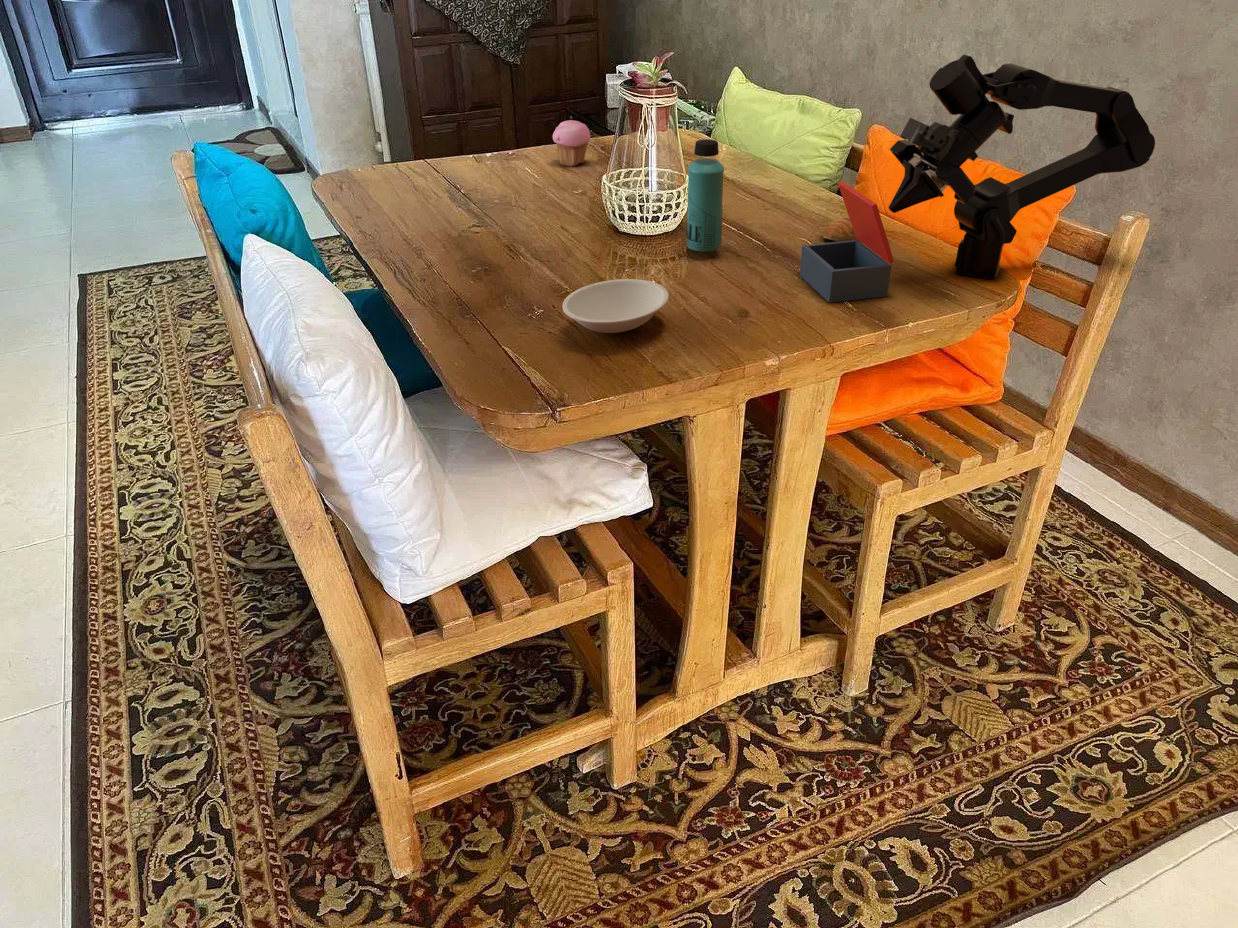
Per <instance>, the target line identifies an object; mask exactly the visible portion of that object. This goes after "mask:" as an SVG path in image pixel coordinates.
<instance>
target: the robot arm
mask: <svg viewBox="0 0 1238 928" xmlns="http://www.w3.org/2000/svg"><path fill="white" fill-rule="evenodd" d="M928 86H929V88H930V89H931V91H932V92H933V94H934V95H935V96H936V97H937V99H938V100H939V102H940V104H942V106H943V107H944V108H945V110H946V111H947V112H948V114H949V115H951V116H956V115H959V116H958V117H957V118H956V119H955V120H954V121H953V122H952V123H951V124H950V125H946V124H942V123H939V122H937V121H935V122H933V123H932V124H930V125H928V124H926V123H924V122H921V121H919V120H917V119H914V118H913V117H909V118H908V120H907V122H906V123H905V125H904V128H903V129H902V131H901V133H900V135H899V138H901V139H898V140H897V141H896V142H895V143H894V144H893V145H892V146H891V147H890V148H889V151H890V152H891V153H892V155H893V156H894V157H895V158H896V160H897V161H898V162H899V164H900V165H902V167H903V168H904V176H903V178H902V181H901V183H900V185H899V187H898V189H897V190H896V192H895V194H894V196H893V198H892V200H891V202H890V204H889V206H888V210H889V211H890V212H891V213H893V214H895V213H898V212H901V211H903V210H906V209H908V208H911V207H913V206H916V205H918V204H921V203H923V202H926V201H930V200H933V199H937V198H943V197H944V196H945V194H944V193H943V191H944V190H946V188H948V187H950V188H951V190H952V191H953V192H954V196H953V198H954V199H955V200H956V202H955V204H954V208H953V214H954V218H955V219H956V220H957V221H958V228H959V230H960V231H963V232H965V234H964V235H963V239H961V240H960V241H959V243H958V246H957V251H956V256H955V261H954V262H955V263H954V267H955V268H956V269H955V271H954V273H955V274H957V275H962V276H968V277H974V278H981V279H988V280H996V278H997V275H998V273H999V272H1000V269H1001V264H1000V263H1001V259H1002V254H1003V249H1004V247H1005V246H1004V245H1005V244H1011V243H1012V242H1013V240H1014V238H1015V236H1016V235H1017V233H1018V231H1017V229H1016V227H1014V225H1013V224H1012V223H1011V222H1012V220H1013V219H1014V218H1015V216H1016V215H1017V214H1018V213H1019V211H1021V209H1024V208H1026V207H1029V206H1030V205H1033V204H1035V203H1037V202H1039V201H1041V200H1044V199H1046V198H1048V197H1051V196H1052V195H1055V194H1057V193H1059V192H1061V191H1064V190H1066V189H1068V188H1071V187H1074V186H1075V185H1077V184H1079V183H1081V182H1084V181H1087V180H1088V179H1090V178H1093V177H1095V176H1097V175H1101V174H1112V173H1123V172H1127V171H1130V170H1134V169H1138V168H1141V167H1143V166H1144V165H1145V164H1147V163H1148V162H1149V161H1150V159H1151V156H1152V155H1153V153H1154V150H1155V147H1156V140H1155V136H1154V135H1153V133H1151V131H1150V128H1149V125H1148V123H1147V122H1146V121H1145V119H1144V117H1143V115H1142V114H1141V113H1140V111H1139V110H1138V109H1137V107H1136V104H1135V101H1134V98H1133V96H1132V94H1131V93H1130V92H1128V91H1126V90H1123V89H1119V88H1116V87H1113V86H1107V87H1102V86H1099V85H1097V86H1096V85H1091V84H1085V83H1079V82H1074V81H1073V82H1072V81H1067V80H1061V79H1056V78H1054V77H1051V76H1050V75H1047V74H1045V73H1043V72H1040V71H1037V70H1035V69H1031V68H1029V67H1025V66H1022V65H1019V64H1015V63H1004V64H1001V65H1000V67H998V68H997V69H996V70H995V71H991V72H986V73H982V72H981V71H980V69H979V67H978V66H977V64H976V62H975V60H974V58H973V56H971V55H968V54H962V55H961V56H960V57H959V58H958V59H956V60H955V59H954V60H953V61H951V62H949V63H947V64H946V65H945V64H944V66H942V67H940V68H938V69H937V70H936V72H935V73H934V74H933V75H932V77H931V79H930V80H929V85H928ZM986 95H988V96H990V99H991V101H990V100H989V98H988V96H986ZM1000 104H1002V105H1005V106H1008V107H1009V108H1013V109H1016V110H1020V111H1022V110H1023V111H1024V110H1039V109H1041V108H1044V107H1054V108H1063V109H1068V110H1074V111H1075V110H1076V111H1080V112H1081V111H1082V112H1086V113H1087V112H1088V113H1093V114H1095V116H1096V117H1095V122H1094V123H1095V124H1094V129H1095V132H1096V134H1095V135H1094V136H1093V137H1092V138H1091V140H1090V141H1089V143H1088V144H1087V145H1086V147H1084V148H1082V149H1080V150H1078V151H1076V152H1073V153H1071V154H1069V155H1067V156H1064V157H1062V158H1061V159H1058V160H1056V161H1053V162H1052V163H1049V164H1047V165H1045V166H1042V167H1040V168H1038V169H1036V170H1033V171H1031V172H1029V173H1027V174H1025V175H1022V176H1020V177H1018V178H1015V179H1014V180H1011V181H1009V182H1006V183H1004V182H1002V181H1000V180H998V179H996V178H993V177H992V176H990V177H987V178H985V179H983V180H982V181H980V182H978V183H976V184H974V183H973V181H972V180H971V179H970V178H969V176H968V175H967V174H966V172H965V171H964V170H963V169H962V167H961V166H962V165H964V163H966V162H967V161H968V160H970V161H972V162H974V161H975V160H977V158H978V157H979V155H978V154H977V151H978V150H979V149H980V148H981V147H982V146H983V145H984V144H985V143H986V142H987V141H989V140H988V139H989V138H991V137H992V136H993V135H994V134H995V133H996V132H997V131H1001V132H1003V133H1006V134H1008V135H1011V134H1012V133H1013V131H1014V118H1015V115H1014V114H1012V113H1009V112H1006V111H1004V110H1003V108H1002V107H1001V105H1000Z"/></svg>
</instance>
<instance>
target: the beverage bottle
mask: <svg viewBox="0 0 1238 928" xmlns="http://www.w3.org/2000/svg"><path fill="white" fill-rule="evenodd" d="M693 152H694V155H695V156H698V157H703V158H698V159H695V160H693V162H691V163H690V164H689V165H688V168H687V171H688V176H687V177H688V179H687V187H686V192H687V193H686V194H687V195H686V196H687V197H686V200H687V213H686V217H687V218H686V229H685V230H686V232H685V234H686V241H685V243H686V245H687V248H688V249H690V250H692V251H696V252H712V251H717V250H719V249H720V248H721V244H722V242H723V239H722V237H723V233H722V232H723V210H724V208H723V207H724V206H723V205H724V204H723V195H724V192H723V191H724V173H725V172H724V171H725V167H724V165H723V164H722V163H721V162H720V161H719V160H717V159H715V158H711V157H715V156H718V155H719V152H720V151H719V142H718V141H717V140H715V139H708V138H705V139H699V140H696V141H695V143H694V151H693ZM704 157H705V158H704ZM707 157H710V158H707Z"/></svg>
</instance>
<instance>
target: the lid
mask: <svg viewBox="0 0 1238 928" xmlns="http://www.w3.org/2000/svg"><path fill="white" fill-rule="evenodd" d="M837 185H838V188H839V191H840V194H841V197H842V200H843V204H844V206H845V209H846V212H847V215H849V218H850V221H851V224H852V227H853V230H854V233H855V236H856V238H857V239H858V241H860V242H861V243H862V244H864V245H865V246H866V247H868V248H869V249H870V250H872V251H873V252H874V253H876V254H877V255H878V256H880V257H881V258H882V259H883V260H885V261H886V262H887V263H889V264H892V263H894V262H895V259H894V256H893V252H892V250H891V247H890V243H889V240H888V237H887V233H886V230H885V227H884V224H883V221H882V218H881V217H882V216H881V215H880V211H879V208H878V205H877V202H875V201H873V200H871V198H869V197H867V196H866V195H864V194H862V192H860V191H858V190H856V189H855V188H853V187H852V186H851V185H849V184H847V183H846V182H844V181H843V180H842V181H839V182H838V183H837Z"/></svg>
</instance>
